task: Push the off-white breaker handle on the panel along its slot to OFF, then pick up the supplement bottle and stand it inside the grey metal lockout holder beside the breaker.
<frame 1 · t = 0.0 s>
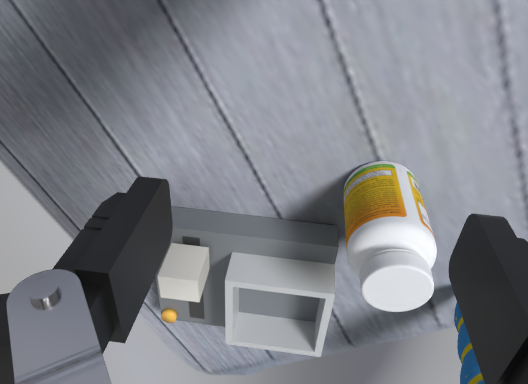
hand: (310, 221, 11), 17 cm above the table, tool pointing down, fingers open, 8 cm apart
breaker handle: (185, 271, 32), point 5 cm above the table, slide at 0.0 cm
ornament: (461, 282, 36), on the table
breaker panel: (244, 265, 38), on the table
supplement bottle: (379, 187, 31), on the table
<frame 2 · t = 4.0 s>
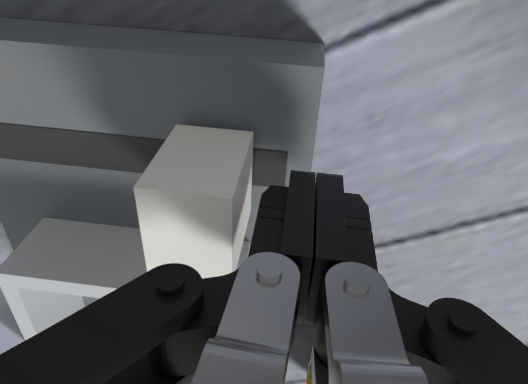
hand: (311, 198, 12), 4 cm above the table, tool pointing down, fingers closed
breaker handle: (202, 200, 12), point 5 cm above the table, slide at 0.6 cm, touching gripper
breaker panel: (167, 205, 18), on the table
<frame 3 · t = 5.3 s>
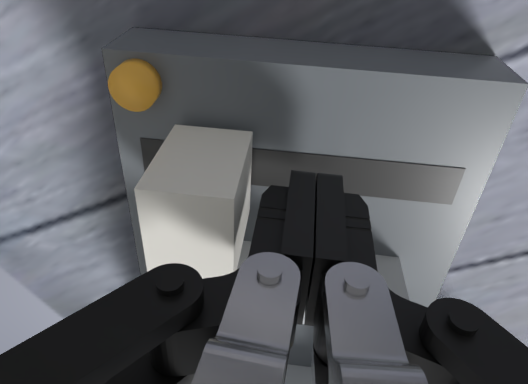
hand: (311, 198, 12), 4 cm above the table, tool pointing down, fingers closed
breaker handle: (202, 201, 12), point 5 cm above the table, slide at 6.2 cm, touching gripper
breaker panel: (290, 218, 18), on the table
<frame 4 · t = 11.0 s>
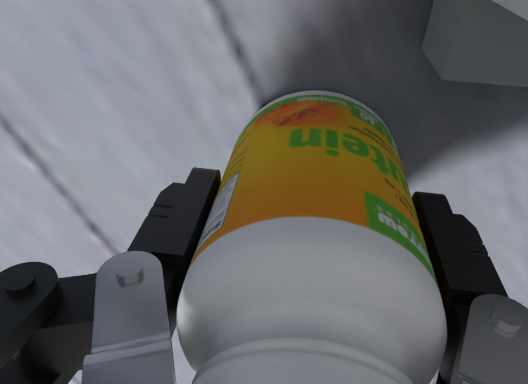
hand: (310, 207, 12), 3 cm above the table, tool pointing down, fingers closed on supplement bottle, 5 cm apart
supplement bottle: (313, 160, 14), on the table, touching gripper
when the fingers open (7 cm above the table, at t = 15.9 s): supplement bottle drops 2 cm, resting on breaker panel.
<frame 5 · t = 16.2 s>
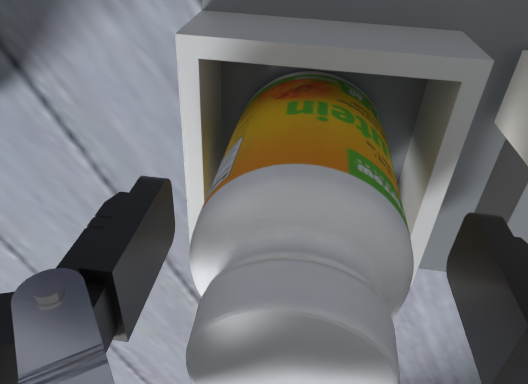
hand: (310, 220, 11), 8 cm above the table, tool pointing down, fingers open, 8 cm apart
breaker panel: (396, 117, 17), on the table
supplement bottle: (309, 136, 16), point 2 cm above the table, touching breaker panel
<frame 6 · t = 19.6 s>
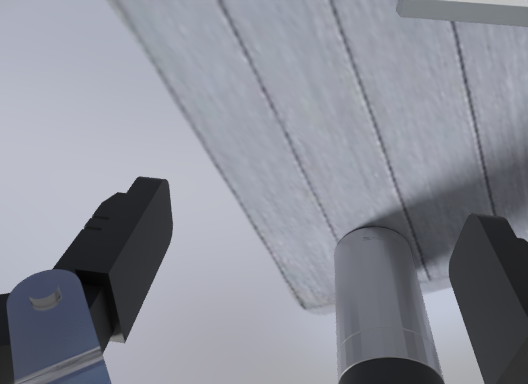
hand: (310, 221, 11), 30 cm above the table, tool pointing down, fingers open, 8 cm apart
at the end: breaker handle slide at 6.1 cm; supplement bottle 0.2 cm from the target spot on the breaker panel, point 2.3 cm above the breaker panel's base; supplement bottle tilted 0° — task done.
